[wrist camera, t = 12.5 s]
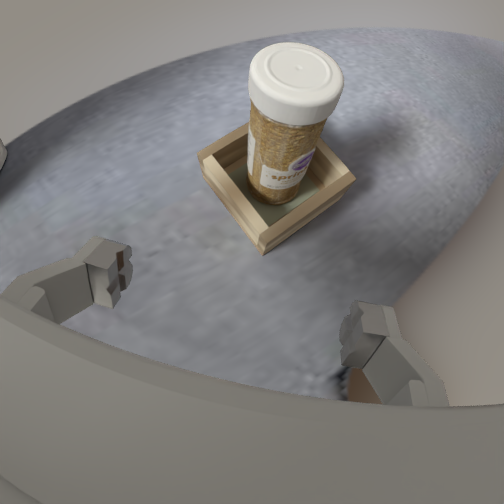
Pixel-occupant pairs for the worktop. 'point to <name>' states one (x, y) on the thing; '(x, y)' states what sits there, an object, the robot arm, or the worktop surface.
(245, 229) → the box
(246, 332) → the worktop surface
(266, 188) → the sprinkles bottle
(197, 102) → the worktop surface
